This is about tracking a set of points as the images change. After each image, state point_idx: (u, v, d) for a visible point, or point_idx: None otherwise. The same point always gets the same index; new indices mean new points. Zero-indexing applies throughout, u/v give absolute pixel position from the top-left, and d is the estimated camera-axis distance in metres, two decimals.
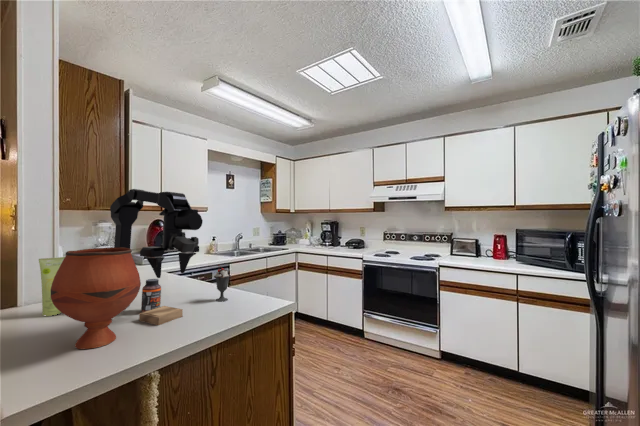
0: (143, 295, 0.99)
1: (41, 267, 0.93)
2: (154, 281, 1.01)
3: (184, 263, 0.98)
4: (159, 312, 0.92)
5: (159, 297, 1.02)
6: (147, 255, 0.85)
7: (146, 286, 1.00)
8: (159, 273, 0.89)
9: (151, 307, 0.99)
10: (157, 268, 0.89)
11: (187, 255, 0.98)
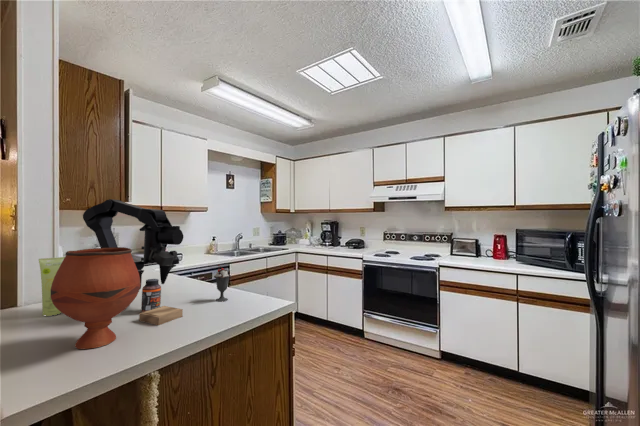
0: (143, 295, 0.99)
1: (41, 267, 0.93)
2: (154, 281, 1.01)
3: (164, 275, 1.06)
4: (159, 312, 0.92)
5: (159, 297, 1.02)
6: None
7: (146, 286, 1.00)
8: None
9: (151, 307, 0.99)
10: None
11: (167, 267, 1.06)
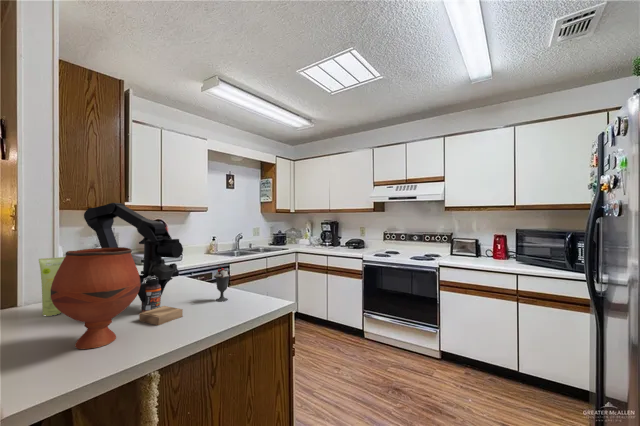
0: None
1: (41, 267, 0.93)
2: (154, 281, 1.01)
3: None
4: (159, 312, 0.92)
5: (159, 297, 1.02)
6: None
7: (146, 286, 1.00)
8: (143, 298, 0.98)
9: (151, 307, 0.99)
10: (141, 293, 0.97)
11: (163, 280, 1.04)
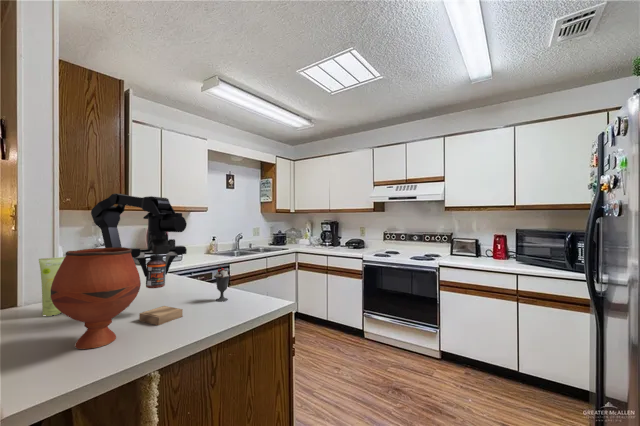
0: None
1: (41, 267, 0.93)
2: (156, 256, 0.98)
3: (166, 265, 1.01)
4: (159, 312, 0.92)
5: (161, 273, 0.98)
6: None
7: (149, 261, 0.98)
8: (145, 272, 0.97)
9: (151, 282, 0.96)
10: (142, 267, 0.96)
11: (168, 257, 1.01)
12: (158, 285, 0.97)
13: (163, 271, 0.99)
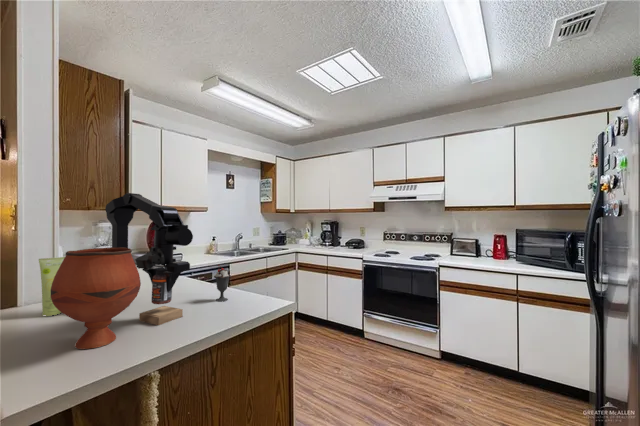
0: None
1: (41, 267, 0.93)
2: (157, 270, 0.93)
3: None
4: (159, 312, 0.92)
5: (157, 289, 0.91)
6: None
7: None
8: None
9: None
10: None
11: None
12: (154, 302, 0.91)
13: (160, 287, 0.91)
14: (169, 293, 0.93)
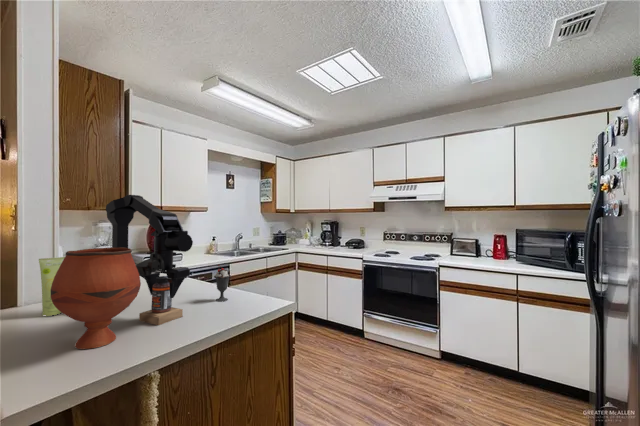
0: None
1: (41, 267, 0.93)
2: (156, 279, 0.93)
3: None
4: None
5: (157, 298, 0.91)
6: None
7: None
8: (149, 290, 0.95)
9: None
10: None
11: None
12: (154, 310, 0.91)
13: (160, 296, 0.91)
14: (169, 301, 0.93)
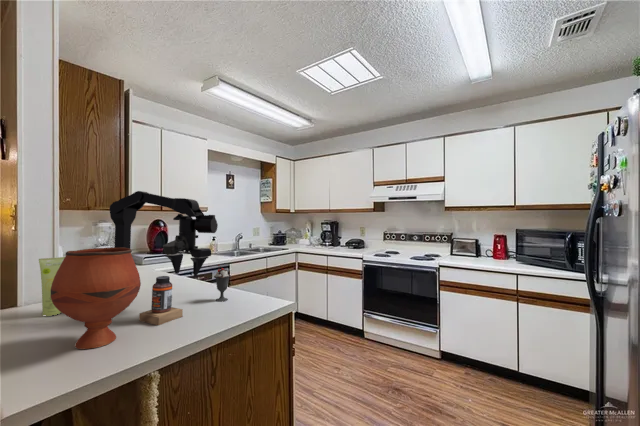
0: None
1: (41, 267, 0.93)
2: (156, 279, 0.93)
3: None
4: None
5: (157, 298, 0.91)
6: None
7: None
8: (174, 269, 1.04)
9: None
10: None
11: None
12: (154, 310, 0.91)
13: (160, 296, 0.91)
14: (169, 301, 0.93)
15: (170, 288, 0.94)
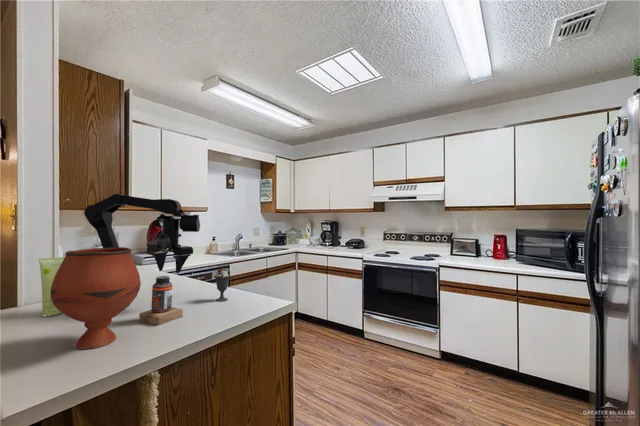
0: None
1: (41, 267, 0.93)
2: (156, 279, 0.93)
3: None
4: None
5: (157, 298, 0.91)
6: None
7: None
8: (158, 267, 1.09)
9: None
10: None
11: None
12: (154, 310, 0.91)
13: (160, 296, 0.91)
14: (169, 301, 0.93)
15: (170, 288, 0.94)
